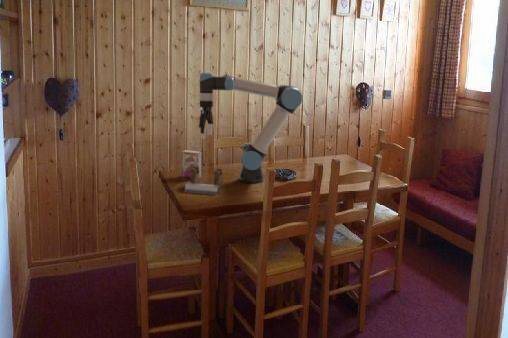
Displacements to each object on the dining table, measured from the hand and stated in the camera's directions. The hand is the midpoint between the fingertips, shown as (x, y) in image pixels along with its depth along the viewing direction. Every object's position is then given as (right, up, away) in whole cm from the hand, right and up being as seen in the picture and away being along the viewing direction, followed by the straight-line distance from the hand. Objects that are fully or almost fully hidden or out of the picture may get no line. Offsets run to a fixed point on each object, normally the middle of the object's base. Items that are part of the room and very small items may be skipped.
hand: (206, 136), depth 294 cm
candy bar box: (-11, -24, +21) cm, 34 cm away
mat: (-1, -32, -9) cm, 33 cm away
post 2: (+7, -29, +1) cm, 30 cm away
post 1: (-7, -28, +4) cm, 29 cm away
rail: (-1, -31, -9) cm, 32 cm away
